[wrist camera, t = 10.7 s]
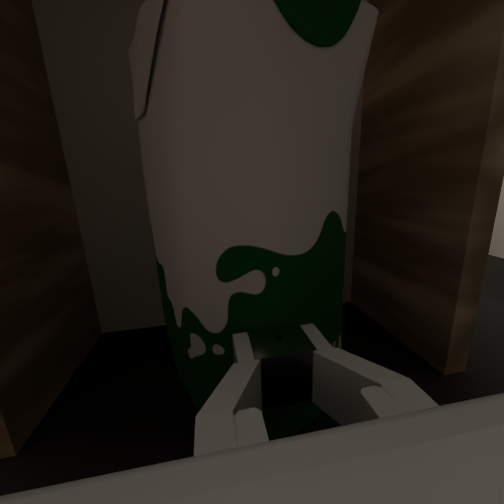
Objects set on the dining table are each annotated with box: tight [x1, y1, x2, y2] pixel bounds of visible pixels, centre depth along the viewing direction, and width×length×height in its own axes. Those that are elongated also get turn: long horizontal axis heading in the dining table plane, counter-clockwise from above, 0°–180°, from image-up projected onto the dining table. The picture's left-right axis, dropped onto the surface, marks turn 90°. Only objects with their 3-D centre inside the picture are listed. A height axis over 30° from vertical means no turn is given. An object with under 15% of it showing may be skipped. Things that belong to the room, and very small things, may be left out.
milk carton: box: [128, 0, 379, 441], centre depth 13 cm, size 9×9×20 cm
